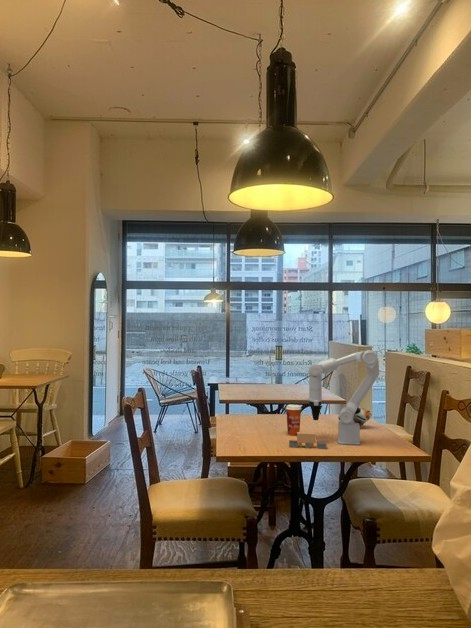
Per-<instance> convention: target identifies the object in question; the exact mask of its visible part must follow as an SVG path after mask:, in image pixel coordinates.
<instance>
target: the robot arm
mask: <svg viewBox="0 0 471 628" xmlns="http://www.w3.org/2000/svg"><path fill="white" fill-rule="evenodd" d="M362 361H363V363H364V364H365V366H366V370H367V373H366V375H365V376H364V377H363V379H362V381H361V382H360V384H359V385H358V387H357V388H356V390H355V391H354V393H353V394H352V396H351V397H350V399H349V400H348V402H347V403H346V404H345V406H343V407H342V408H340V410H339V414H338V417H339V418H340V420H339V419H338V421H337V422H338V424H337V425H338V427H337V428H338V432H337V433H338V436H337V437H338V438H336V441H337V443H338V444H341V445H361V442H360V441H361V433H360V431H361V429H360V428H361V427H360V426H359V423H355V421H353V417H354V413H355V412H356V410H357V408H358V407H360V404H361V403H362V402H363V401H364V398H365V397H366V395H367V394H368V392H369V391H370V389H371V388H372V386H373V385H374V383H375V382H376V380H377V379H378V377H379V375H380V363H379V362H380V360H379V358H378V356H377V354H376V352H375V351H373V350H371V349H367V350H365V351H364V350H362V351H357V352H353V353H350V354H348V355H345V356H342V357H340V358H337V359H336V358H334V357H330V356H329V357H327V358H326V359H324V360H322V361H317V363H313V364H310V366H309V367H308V373H309V381H308V384H309V385H308V390H309V391H308V392H309V393H308V395H309V397H307V398H306V401H308V403H309V407H310V410H311V414H312V415H311V416H312V420H313V421H318V420H319V417H320V414H321V413H320V412H321V410H322V407H323V405H321V404H322V401H323V398H322V392H323V391H322V388H323V387H322V383H323V381H322V374H327V373H330V372H333V371H336V370H338V368H339V367H340V366H343V365H346V364H349V363H352V362H358V363H362Z"/></svg>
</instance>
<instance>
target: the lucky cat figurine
mask: <svg viewBox="0 0 471 628" xmlns="http://www.w3.org/2000/svg"><path fill="white" fill-rule="evenodd" d="M372 416H373V415H372V413H371V411H370V410H366V409H365V408H363V407H362V406H358V408H357V410H356V412H355V413H354V417H353V421H355V423H359V426H360V428H362V426H363V425H364V424H366V423H367V422H368V421H369V420H371V418H372ZM337 420H338V421H339V420H340V418H339V416H338V419H337Z"/></svg>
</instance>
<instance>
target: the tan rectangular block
mask: <svg viewBox="0 0 471 628" xmlns="http://www.w3.org/2000/svg"><path fill="white" fill-rule="evenodd" d="M316 437H317V434H316V432H309V431H308V432H307V431H300V432H297V436H296V441H297V443H298V448H303V444H305V443H310V448H312V447H315V444H317V439H316Z"/></svg>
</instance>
